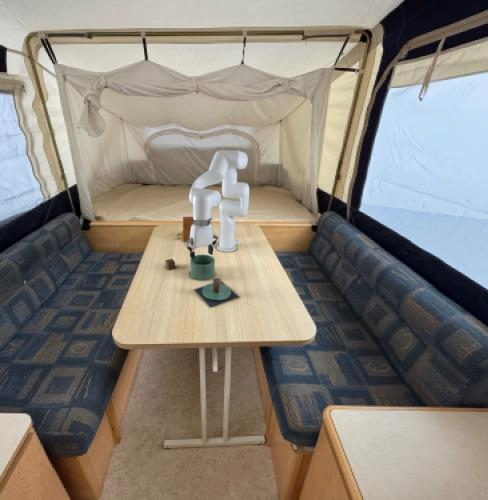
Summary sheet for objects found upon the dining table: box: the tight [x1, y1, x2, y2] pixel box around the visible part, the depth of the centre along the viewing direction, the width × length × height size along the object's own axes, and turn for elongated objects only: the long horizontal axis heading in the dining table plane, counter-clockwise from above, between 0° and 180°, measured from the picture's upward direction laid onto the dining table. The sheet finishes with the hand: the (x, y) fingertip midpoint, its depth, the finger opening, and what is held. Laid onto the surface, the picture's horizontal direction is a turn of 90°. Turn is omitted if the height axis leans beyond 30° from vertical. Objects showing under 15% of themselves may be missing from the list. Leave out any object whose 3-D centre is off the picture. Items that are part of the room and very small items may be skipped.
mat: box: [194, 281, 240, 308], centre depth 125 cm, size 15×15×1 cm
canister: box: [189, 254, 216, 281], centre depth 139 cm, size 13×13×8 cm
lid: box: [202, 277, 232, 300], centre depth 123 cm, size 14×14×7 cm
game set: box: [174, 216, 215, 243], centre depth 183 cm, size 28×22×19 cm
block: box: [165, 258, 176, 271], centre depth 146 cm, size 4×4×4 cm
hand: (201, 256), depth 125 cm, fingers open, 9 cm apart
